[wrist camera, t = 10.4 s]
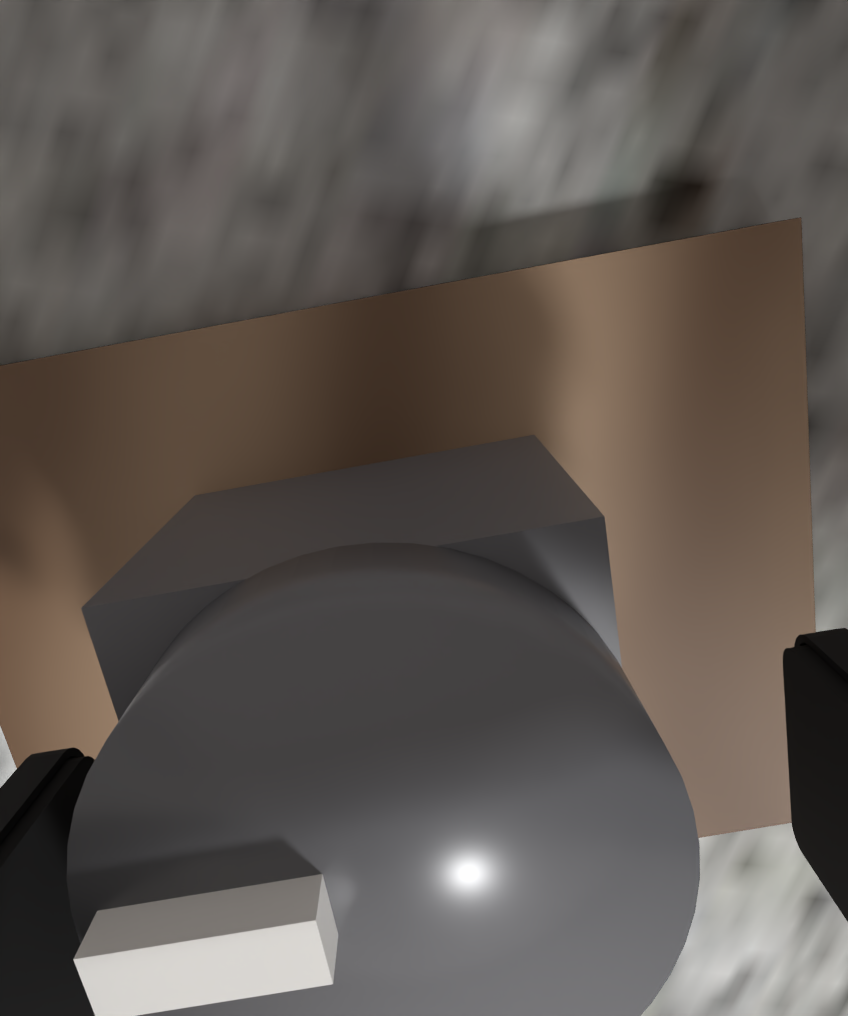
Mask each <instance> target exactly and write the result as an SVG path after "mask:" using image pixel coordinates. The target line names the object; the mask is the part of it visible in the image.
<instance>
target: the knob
mask: <svg viewBox="0 0 848 1016" xmlns="http://www.w3.org/2000/svg"><path fill="white" fill-rule="evenodd" d="M81 610H82V613H83V616H84V619H85V622H86V625H87V628H88V631H89V634H90V637H91V640H92V643H93V646H94V649H95V652H96V655H97V658H98V661H99V664H100V667H101V670H102V673H103V676H104V679H105V682H106V685H107V688H108V691H109V694H110V697H111V700H112V703H113V706H114V709H115V712H116V715H117V718H118V721H119V722H118V723H117V725H116V726H115V728H114V729H113V731H112V732H111V734H110V735H109V737H108V738H107V740H106V741H105V743H104V745H103V747H102V748H101V750H100V752H99V754H98V755H97V757H96V759H95V761H94V763H93V764H92V766H91V768H90V770H89V772H88V773H87V775H86V778H85V781H84V784H83V786H82V789H81V792H80V795H79V797H78V800H77V803H76V805H75V808H74V813H73V818H72V823H71V828H70V833H69V839H68V844H67V885H68V893H69V900H70V908H71V914H72V917H73V920H74V924H75V927H76V930H77V934H78V937H79V940H80V944H81V945H80V947H79V949H78V951H77V953H76V955H75V957H74V959H73V960H74V963H75V965H76V968H77V971H78V973H79V976H80V978H81V981H82V983H83V986H84V989H85V991H86V994H87V996H88V999H89V1001H90V1004H91V1006H92V1009H93V1012H94V1014H95V1016H641V1014H642V1013H643V1012H644V1011H645V1010H646V1009H647V1008H648V1006H649V1005H650V1004H651V1003H652V1002H653V1000H654V998H655V997H656V995H657V994H658V992H659V991H660V989H661V988H662V986H663V985H664V983H665V982H666V980H667V979H668V977H669V976H670V974H671V972H672V970H673V968H674V966H675V964H676V962H677V960H678V957H679V955H680V953H681V951H682V949H683V947H684V945H685V942H686V939H687V936H688V932H689V929H690V926H691V923H692V920H693V916H694V913H695V907H696V901H697V894H698V887H699V880H700V855H699V840H698V834H697V828H696V822H695V816H694V811H693V808H692V805H691V802H690V799H689V796H688V793H687V790H686V787H685V784H684V781H683V778H682V776H681V774H680V772H679V770H678V768H677V766H676V765H675V763H674V761H673V759H672V757H671V755H670V753H669V751H668V749H667V748H666V746H665V744H664V742H663V740H662V738H661V737H660V735H659V733H658V731H657V730H656V728H655V726H654V724H653V723H652V721H651V719H650V717H649V715H648V714H647V712H646V710H645V708H644V707H643V705H642V703H641V701H640V699H639V698H638V696H637V694H636V692H635V691H634V689H633V687H632V685H631V683H630V682H629V680H628V678H627V676H626V675H625V673H624V671H623V669H622V664H621V655H620V646H619V638H618V629H617V620H616V612H615V603H614V594H613V585H612V577H611V568H610V559H609V551H608V542H607V533H606V525H605V516H604V515H603V514H602V513H601V512H600V511H599V509H598V508H597V507H596V506H595V505H594V504H593V502H592V501H591V500H590V499H589V498H588V497H587V495H586V494H585V493H584V492H583V491H582V490H581V488H580V487H579V486H578V485H577V484H576V483H575V481H574V480H573V479H572V478H571V477H570V476H569V474H568V473H567V472H566V471H565V470H564V469H563V467H562V466H561V465H560V464H559V463H558V462H557V460H556V459H555V458H554V457H553V456H552V455H551V453H550V452H549V451H548V450H547V449H546V448H545V446H544V445H543V444H542V443H541V442H540V441H539V439H538V438H537V437H536V436H535V435H530V436H524V437H519V438H513V439H508V440H502V441H496V442H491V443H485V444H480V445H474V446H468V447H463V448H457V449H452V450H446V451H440V452H435V453H429V454H424V455H418V456H412V457H407V458H401V459H396V460H390V461H384V462H379V463H373V464H368V465H362V466H356V467H351V468H345V469H340V470H334V471H328V472H323V473H317V474H312V475H306V476H300V477H295V478H289V479H284V480H278V481H272V482H267V483H261V484H256V485H250V486H244V487H239V488H233V489H228V490H222V491H216V492H211V493H205V494H200V495H195V496H194V497H193V498H192V499H191V500H190V501H189V502H188V503H186V504H185V505H184V506H183V507H182V508H181V509H180V510H179V511H178V512H177V513H176V514H175V515H174V516H173V517H172V518H171V519H170V520H169V521H168V522H167V523H166V524H165V525H164V526H163V527H162V528H161V529H160V530H159V531H158V532H157V533H156V534H155V535H154V536H153V537H152V538H151V539H150V540H149V541H148V542H147V543H146V544H145V545H144V546H143V547H142V548H141V549H140V550H139V551H138V552H137V553H136V554H135V555H134V556H133V557H132V558H131V559H130V560H129V561H128V562H127V563H126V564H125V565H124V566H123V567H122V568H121V569H120V570H119V571H118V572H117V573H116V574H115V575H114V576H113V577H112V578H111V579H110V580H109V581H108V582H107V583H106V584H105V585H104V586H103V587H102V588H101V589H100V590H99V591H98V592H97V593H96V594H95V595H94V596H93V597H92V598H91V599H90V600H89V601H88V602H87V603H86V604H85V605H84V606H83V607H82V608H81Z"/></svg>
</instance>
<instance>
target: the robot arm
mask: <svg viewBox="0 0 848 1016" xmlns="http://www.w3.org/2000/svg"><path fill="white" fill-rule="evenodd" d="M783 677H784V695H785V713H786V731H787V749H788V768H789V786H790V804H791V820H792V827H793V831H794V835H795V838H796V841H797V843H798V846H799V848H800V850H801V851H802V853H803V855H804V856H805V858H806V859H807V861H808V862H809V864H810V865H811V867H812V868H813V870H814V871H815V873H816V874H817V876H818V877H819V879H820V880H821V882H822V883H823V885H824V886H825V888H826V889H827V891H828V892H829V894H830V896H831V897H832V899H833V900H834V902H835V903H836V905H837V906H838V908H839V909H840V911H841V912H842V914H843V915H844V917H845V918H846V920H847V921H848V629H846V628H840V629H834V630H827V631H821V632H815V633H808V634H802V635H799V636H798V637H797V638H796V640H795V644H794V647H791V648H786V649H785V650H784V652H783ZM94 761H95V760H94V759H93V758H92V757H90V756H84V754H83V753H82V752H81V751H80V750H79V749H77V748H74V747H73V748H66V749H60V750H53V751H47V752H41V753H35V754H31V755H30V756H29V757H27V758H26V759H25V760H24V762H23V763H22V764H21V765H20V766H19V767H18V768H17V770H16V771H15V772H14V773H13V774H12V775H11V776H10V778H9V779H8V780H7V781H6V782H5V783H4V785H3V786H2V787H1V788H0V1016H95V1014H94V1012H93V1009H92V1006H91V1004H90V1001H89V999H88V996H87V994H86V991H85V989H84V986H83V983H82V981H81V978H80V976H79V973H78V971H77V968H76V965H75V963H74V960H73V959H74V957H75V955H76V953H77V951H78V949H79V947H80V945H81V944H80V940H79V937H78V934H77V930H76V927H75V924H74V920H73V917H72V914H71V908H70V900H69V893H68V885H67V844H68V839H69V833H70V828H71V823H72V818H73V813H74V808H75V805H76V803H77V800H78V797H79V795H80V792H81V789H82V786H83V784H84V781H85V778H86V775H87V773H88V772H89V770H90V768H91V766H92V764H93V763H94Z"/></svg>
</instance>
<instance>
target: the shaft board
mask: <svg viewBox="0 0 848 1016" xmlns="http://www.w3.org/2000/svg"><path fill="white" fill-rule="evenodd" d="M530 435H535V436H536V437H537V438H538V439H539V441H540V442H541V443H542V444H543V445H544V446H545V448H546V449H547V450H548V451H549V452H550V453H551V455H552V456H553V457H554V458H555V459H556V460H557V462H558V463H559V464H560V465H561V466H562V467H563V469H564V470H565V471H566V472H567V473H568V474H569V476H570V477H571V478H572V479H573V480H574V481H575V483H576V484H577V485H578V486H579V487H580V488H581V490H582V491H583V492H584V493H585V494H586V495H587V497H588V498H589V499H590V500H591V501H592V502H593V504H594V505H595V506H596V507H597V508H598V509H599V511H600V512H601V513H602V514H603V515H604V516H605V525H606V533H607V542H608V551H609V559H610V568H611V577H612V585H613V594H614V603H615V612H616V620H617V629H618V638H619V646H620V655H621V664H622V669H623V671H624V673H625V675H626V676H627V678H628V680H629V682H630V683H631V685H632V687H633V689H634V691H635V692H636V694H637V696H638V698H639V699H640V701H641V703H642V705H643V707H644V708H645V710H646V712H647V714H648V715H649V717H650V719H651V721H652V723H653V724H654V726H655V728H656V730H657V731H658V733H659V735H660V737H661V738H662V740H663V742H664V744H665V746H666V748H667V749H668V751H669V753H670V755H671V757H672V759H673V761H674V763H675V765H676V766H677V768H678V770H679V772H680V774H681V776H682V778H683V781H684V784H685V787H686V790H687V793H688V796H689V799H690V802H691V805H692V808H693V811H694V816H695V822H696V828H697V834H698V838H700V837H706V836H712V835H719V834H725V833H731V832H737V831H743V830H749V829H755V828H762V827H768V826H774V825H780V824H786V823H792V820H791V804H790V786H789V768H788V749H787V731H786V713H785V695H784V677H783V652H784V650H785V649H786V648H791V647H794V644H795V640H796V638H797V637H798V636H799V635H802V634H808V633H815V632H816V630H815V601H814V572H813V543H812V514H811V485H810V456H809V428H808V399H807V370H806V341H805V312H804V283H803V254H802V225H801V218H795V219H789V220H783V221H777V222H772V223H766V224H761V225H756V226H750V227H745V228H739V229H734V230H729V231H723V232H718V233H712V234H707V235H702V236H696V237H691V238H685V239H680V240H675V241H669V242H664V243H658V244H653V245H648V246H642V247H637V248H631V249H626V250H621V251H615V252H610V253H604V254H599V255H594V256H588V257H583V258H578V259H572V260H567V261H561V262H556V263H551V264H545V265H540V266H534V267H529V268H524V269H518V270H513V271H507V272H502V273H497V274H491V275H486V276H480V277H475V278H470V279H464V280H459V281H453V282H448V283H443V284H437V285H432V286H426V287H421V288H416V289H410V290H405V291H399V292H394V293H389V294H383V295H378V296H372V297H367V298H362V299H356V300H351V301H345V302H340V303H335V304H329V305H324V306H318V307H313V308H308V309H302V310H297V311H292V312H286V313H281V314H275V315H270V316H265V317H259V318H254V319H248V320H243V321H238V322H232V323H227V324H221V325H216V326H211V327H205V328H200V329H194V330H189V331H184V332H178V333H173V334H167V335H162V336H157V337H151V338H146V339H140V340H135V341H130V342H124V343H119V344H113V345H108V346H103V347H97V348H92V349H86V350H81V351H76V352H70V353H65V354H59V355H54V356H49V357H43V358H38V359H32V360H27V361H22V362H16V363H11V364H6V365H0V726H1V728H2V731H3V733H4V736H5V739H6V741H7V744H8V746H9V749H10V752H11V754H12V757H13V760H14V762H15V765H16V767H17V768H18V767H19V766H20V765H21V764H22V763H23V762H24V760H25V759H26V758H27V757H29V756H30V755H31V754H35V753H41V752H47V751H53V750H60V749H66V748H73V747H74V748H77V749H79V750H80V751H81V752H82V753H83V754H84V756H90V757H92V758H93V759H94V760H95V759H96V757H97V755H98V754H99V752H100V750H101V748H102V747H103V745H104V743H105V741H106V740H107V738H108V737H109V735H110V734H111V732H112V731H113V729H114V728H115V726H116V725H117V723H118V722H119V721H118V718H117V715H116V712H115V709H114V706H113V703H112V700H111V697H110V694H109V691H108V688H107V685H106V682H105V679H104V676H103V673H102V670H101V667H100V664H99V661H98V658H97V655H96V652H95V649H94V646H93V643H92V640H91V637H90V634H89V631H88V628H87V625H86V622H85V619H84V616H83V613H82V610H81V608H82V607H83V606H84V605H85V604H86V603H87V602H88V601H89V600H90V599H91V598H92V597H93V596H94V595H95V594H96V593H97V592H98V591H99V590H100V589H101V588H102V587H103V586H104V585H105V584H106V583H107V582H108V581H109V580H110V579H111V578H112V577H113V576H114V575H115V574H116V573H117V572H118V571H119V570H120V569H121V568H122V567H123V566H124V565H125V564H126V563H127V562H128V561H129V560H130V559H131V558H132V557H133V556H134V555H135V554H136V553H137V552H138V551H139V550H140V549H141V548H142V547H143V546H144V545H145V544H146V543H147V542H148V541H149V540H150V539H151V538H152V537H153V536H154V535H155V534H156V533H157V532H158V531H159V530H160V529H161V528H162V527H163V526H164V525H165V524H166V523H167V522H168V521H169V520H170V519H171V518H172V517H173V516H174V515H175V514H176V513H177V512H178V511H179V510H180V509H181V508H182V507H183V506H184V505H185V504H186V503H188V502H189V501H190V500H191V499H192V498H193V497H194V496H195V495H200V494H205V493H211V492H216V491H222V490H228V489H233V488H239V487H244V486H250V485H256V484H261V483H267V482H272V481H278V480H284V479H289V478H295V477H300V476H306V475H312V474H317V473H323V472H328V471H334V470H340V469H345V468H351V467H356V466H362V465H368V464H373V463H379V462H384V461H390V460H396V459H401V458H407V457H412V456H418V455H424V454H429V453H435V452H440V451H446V450H452V449H457V448H463V447H468V446H474V445H480V444H485V443H491V442H496V441H502V440H508V439H513V438H519V437H524V436H530Z"/></svg>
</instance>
